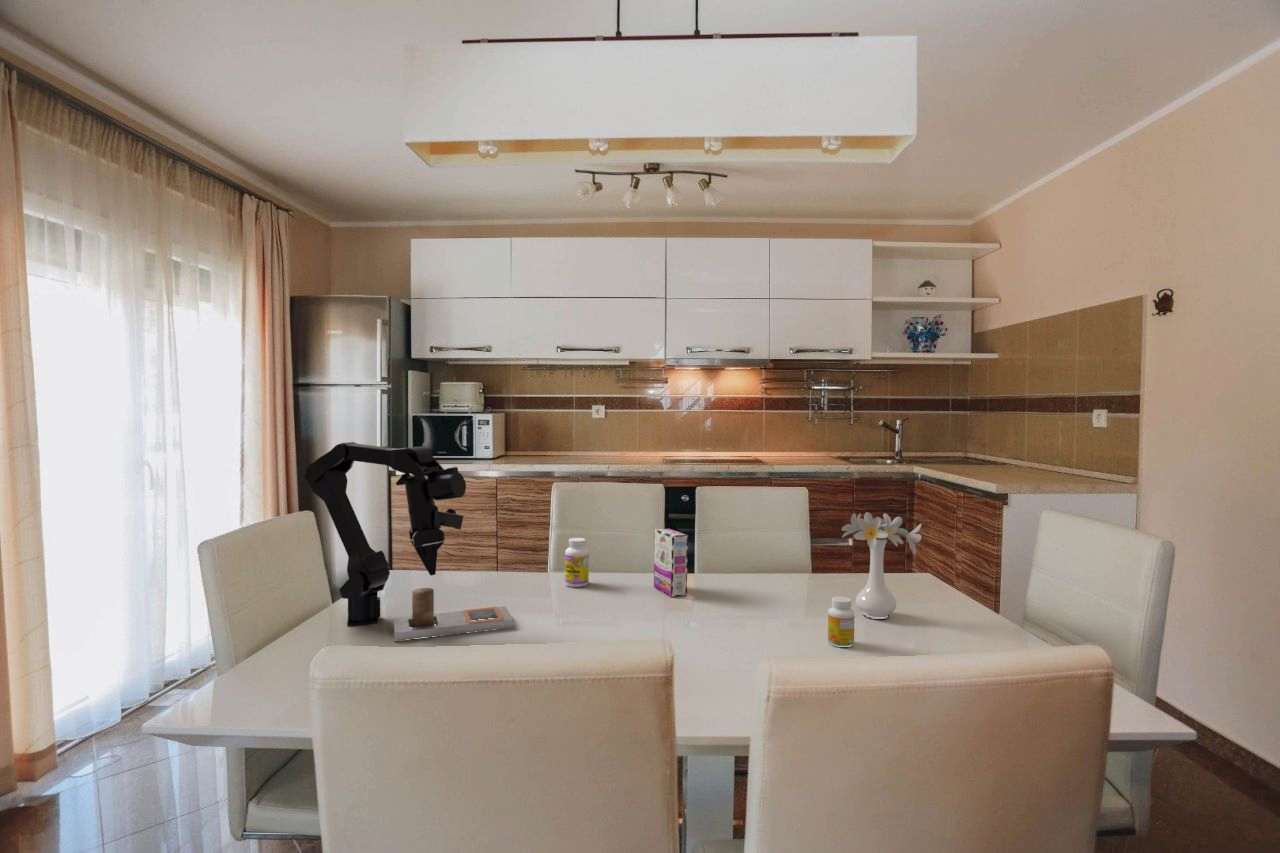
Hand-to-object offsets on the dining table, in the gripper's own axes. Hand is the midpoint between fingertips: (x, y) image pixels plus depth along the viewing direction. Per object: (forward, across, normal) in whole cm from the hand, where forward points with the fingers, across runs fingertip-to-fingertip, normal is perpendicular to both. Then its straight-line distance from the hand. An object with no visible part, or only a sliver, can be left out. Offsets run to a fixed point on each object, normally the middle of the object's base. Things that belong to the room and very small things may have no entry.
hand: (430, 572), depth 144 cm
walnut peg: (+13, +1, +3) cm, 13 cm away
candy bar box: (+20, +9, -61) cm, 65 cm away
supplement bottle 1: (+16, +24, -39) cm, 49 cm away
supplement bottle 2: (+27, -39, -78) cm, 91 cm away
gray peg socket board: (+13, +1, -3) cm, 14 cm away
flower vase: (+29, -27, -99) cm, 106 cm away
